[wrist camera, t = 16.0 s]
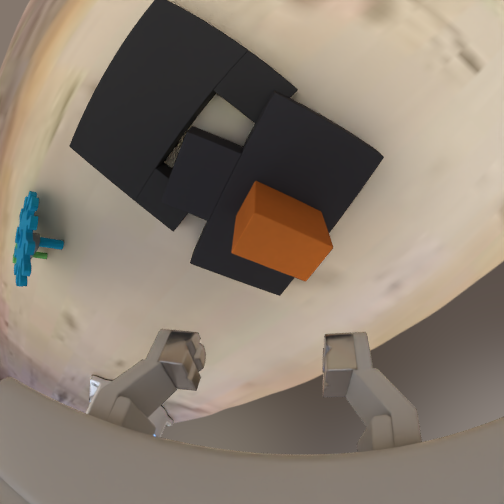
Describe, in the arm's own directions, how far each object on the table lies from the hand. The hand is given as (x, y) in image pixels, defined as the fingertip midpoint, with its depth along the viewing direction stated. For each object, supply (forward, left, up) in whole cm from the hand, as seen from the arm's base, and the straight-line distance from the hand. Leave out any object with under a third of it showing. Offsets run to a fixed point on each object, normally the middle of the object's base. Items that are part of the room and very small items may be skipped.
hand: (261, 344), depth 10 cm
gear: (-19, +18, -13) cm, 29 cm away
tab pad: (0, +2, -12) cm, 12 cm away
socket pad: (0, +11, -13) cm, 17 cm away
